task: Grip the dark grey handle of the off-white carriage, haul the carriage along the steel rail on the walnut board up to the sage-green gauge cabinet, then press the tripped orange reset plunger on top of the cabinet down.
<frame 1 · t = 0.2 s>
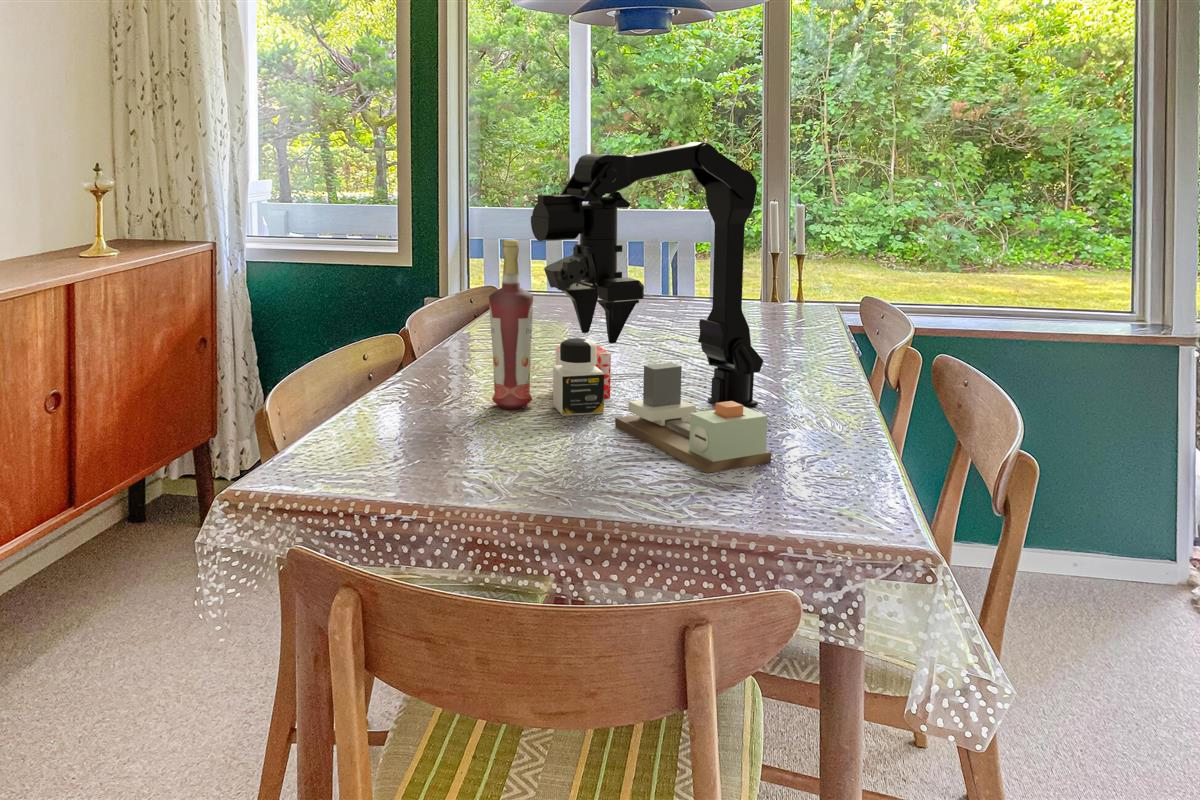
hand: (598, 337, 165), 14 cm above the table, fingers open, 9 cm apart
gauge cabinet: (726, 461, 150), resting on rail track
reset button: (728, 417, 148), point 6 cm above the table, slide at 0.0 cm
rail track: (688, 443, 158), on the table
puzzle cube: (582, 394, 188), on the table
liquor: (512, 407, 179), on the table
carriage: (662, 392, 164), point 6 cm above the table, slide at 0.0 cm
medicine bottle: (578, 411, 177), on the table
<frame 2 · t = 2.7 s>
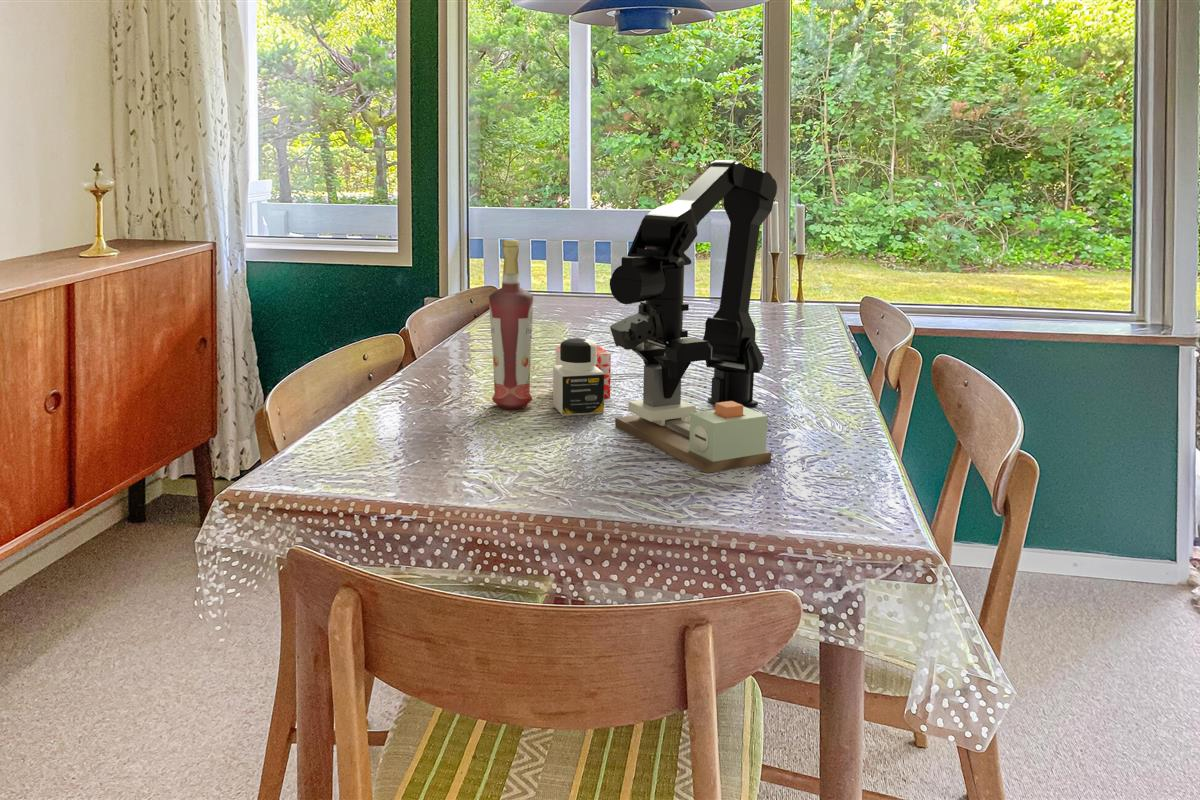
hand: (662, 395, 164), 6 cm above the table, fingers closed on carriage, 3 cm apart
carriage: (662, 392, 164), point 6 cm above the table, slide at 0.0 cm, touching gripper
everything else where it was.
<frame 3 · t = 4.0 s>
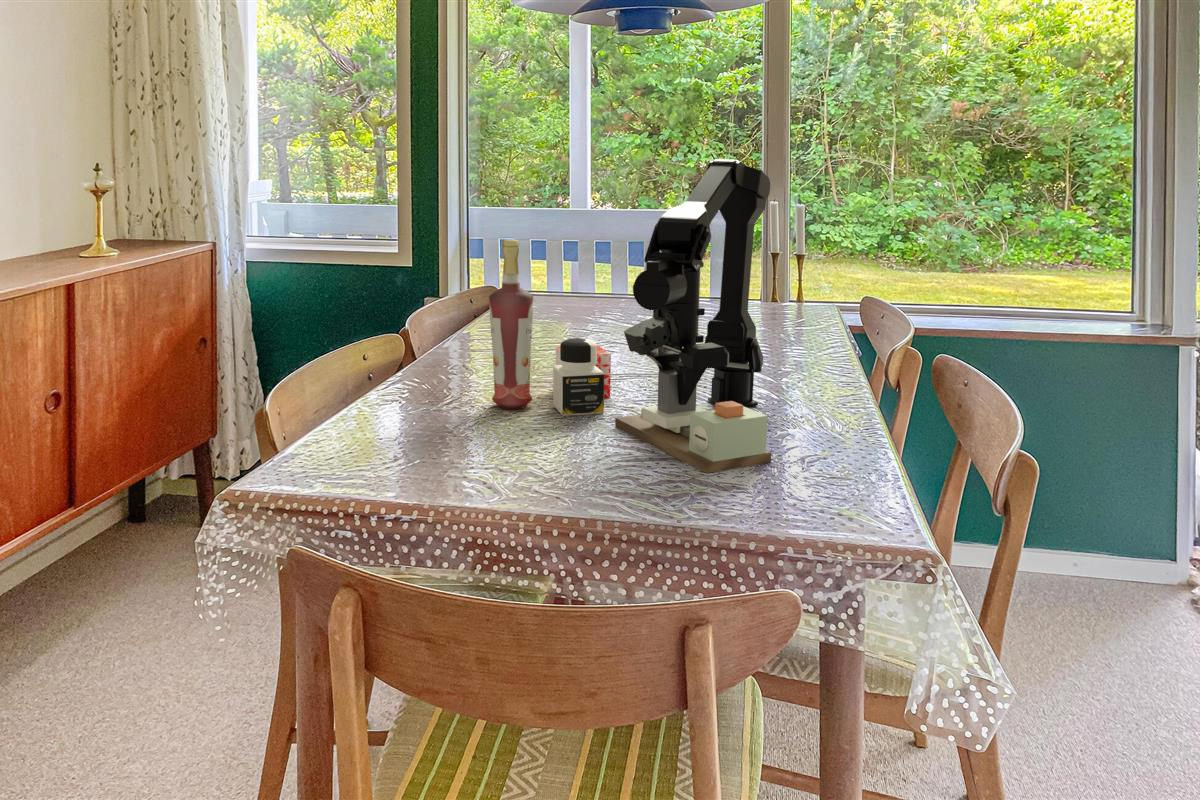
hand: (676, 402, 160), 6 cm above the table, fingers closed on carriage, 3 cm apart
carriage: (676, 398, 160), point 6 cm above the table, slide at 4.3 cm, touching gripper
everything else where it was.
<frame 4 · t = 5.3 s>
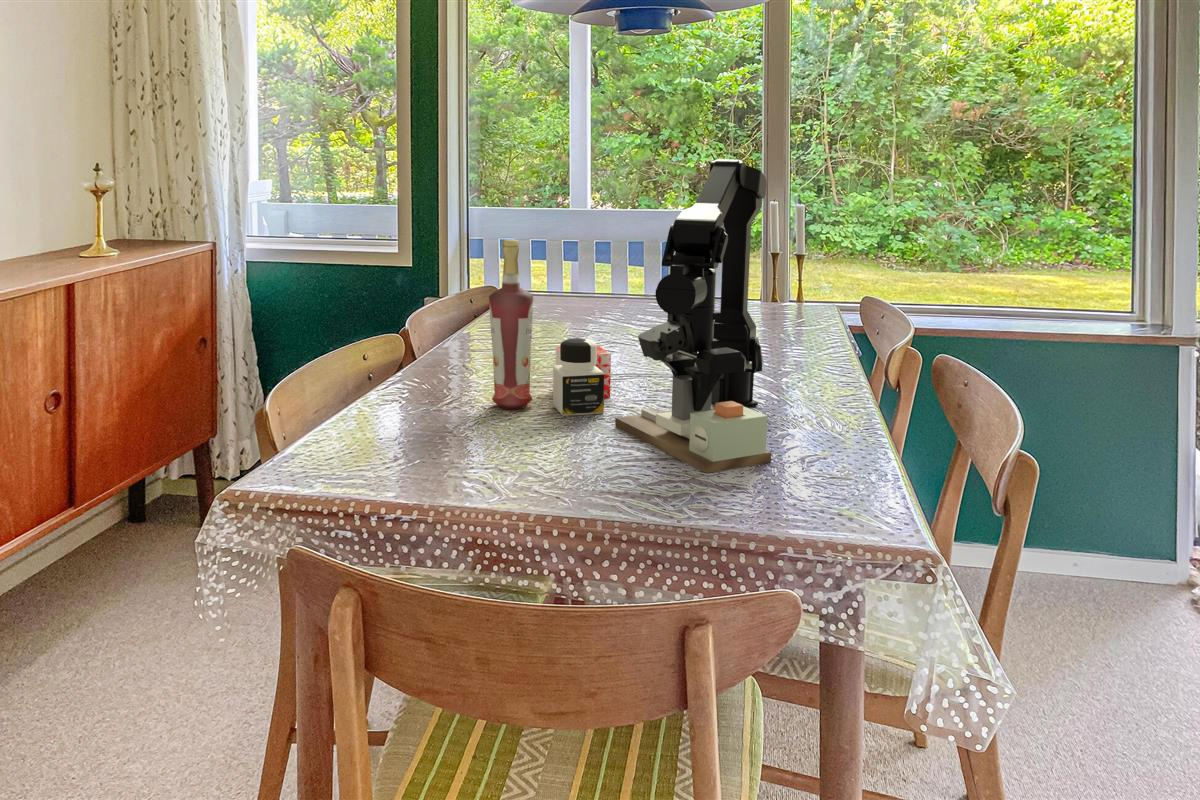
hand: (691, 408, 157), 6 cm above the table, fingers closed on carriage, 3 cm apart
carriage: (691, 404, 156), point 6 cm above the table, slide at 8.4 cm, touching gripper
everything else where it was.
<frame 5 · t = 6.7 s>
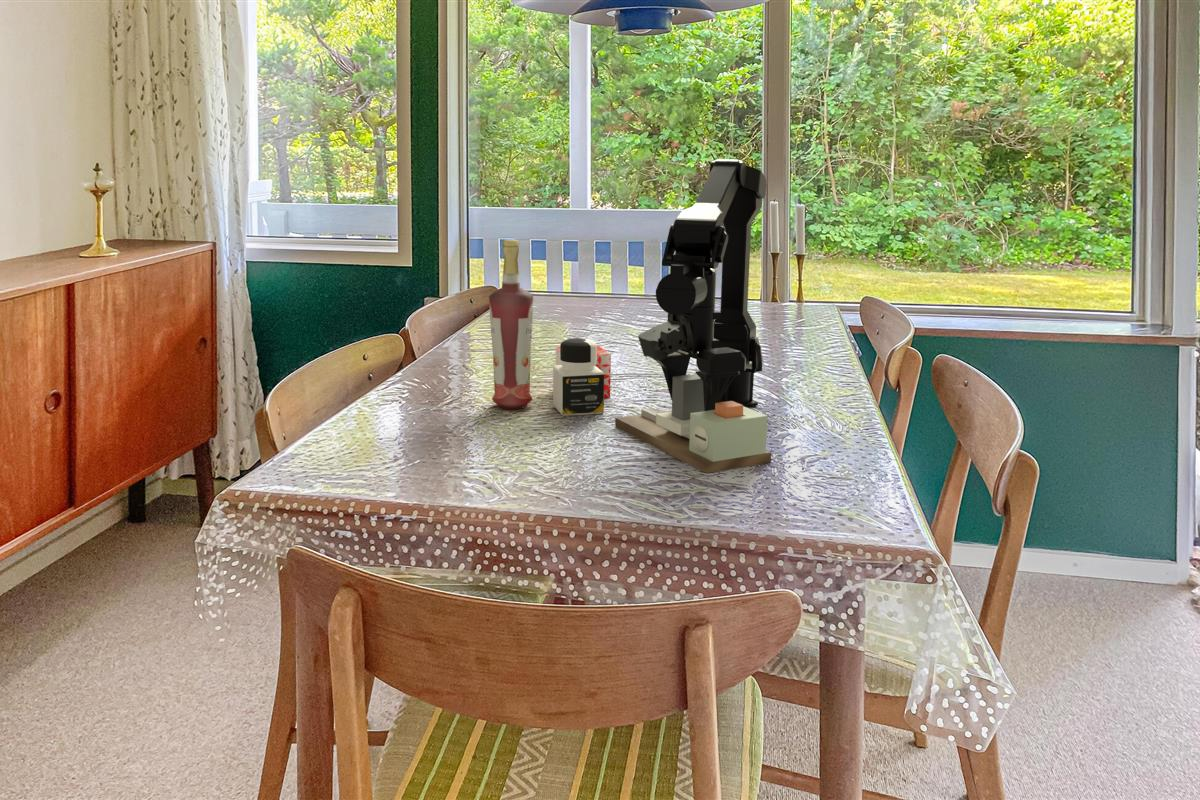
hand: (691, 408, 156), 6 cm above the table, fingers open, 9 cm apart
carriage: (691, 404, 156), point 6 cm above the table, slide at 8.4 cm
everything else where it was.
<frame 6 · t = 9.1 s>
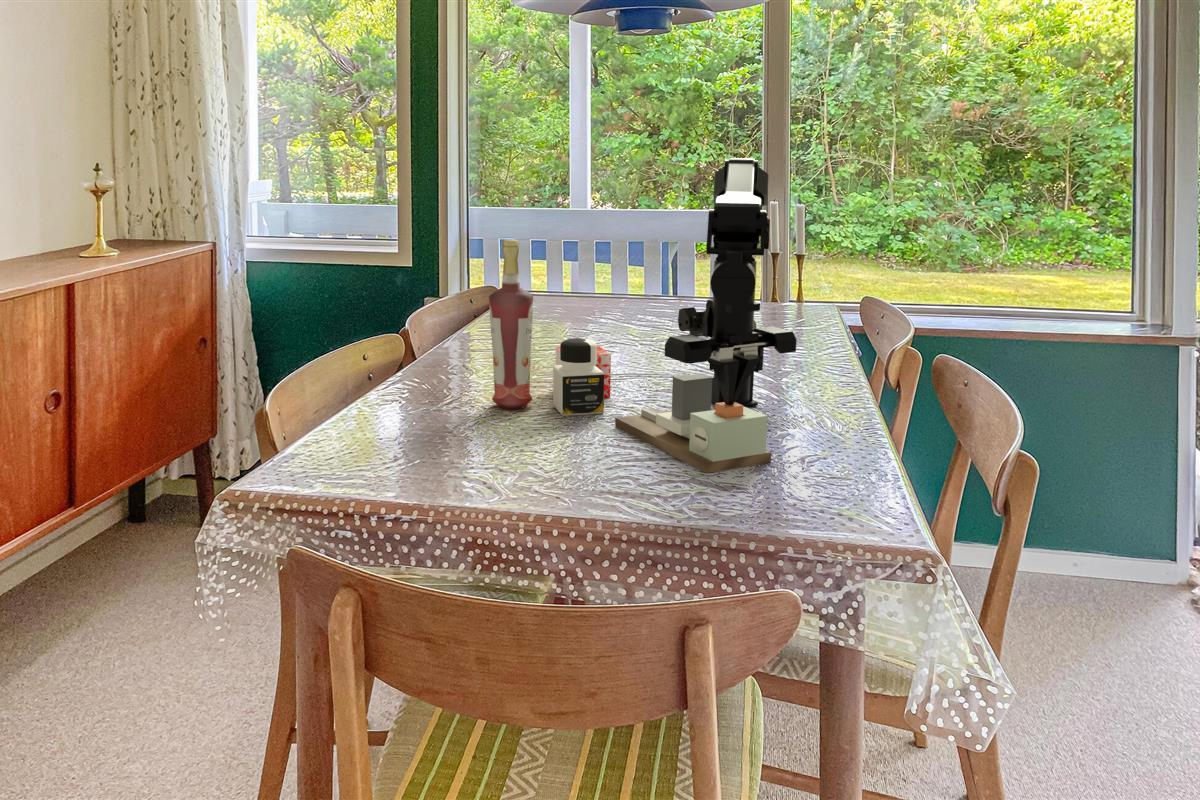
hand: (729, 404, 148), 8 cm above the table, fingers closed, pressing on reset button
reset button: (728, 418, 148), point 6 cm above the table, slide at 0.0 cm, touching gripper
everything else where it was.
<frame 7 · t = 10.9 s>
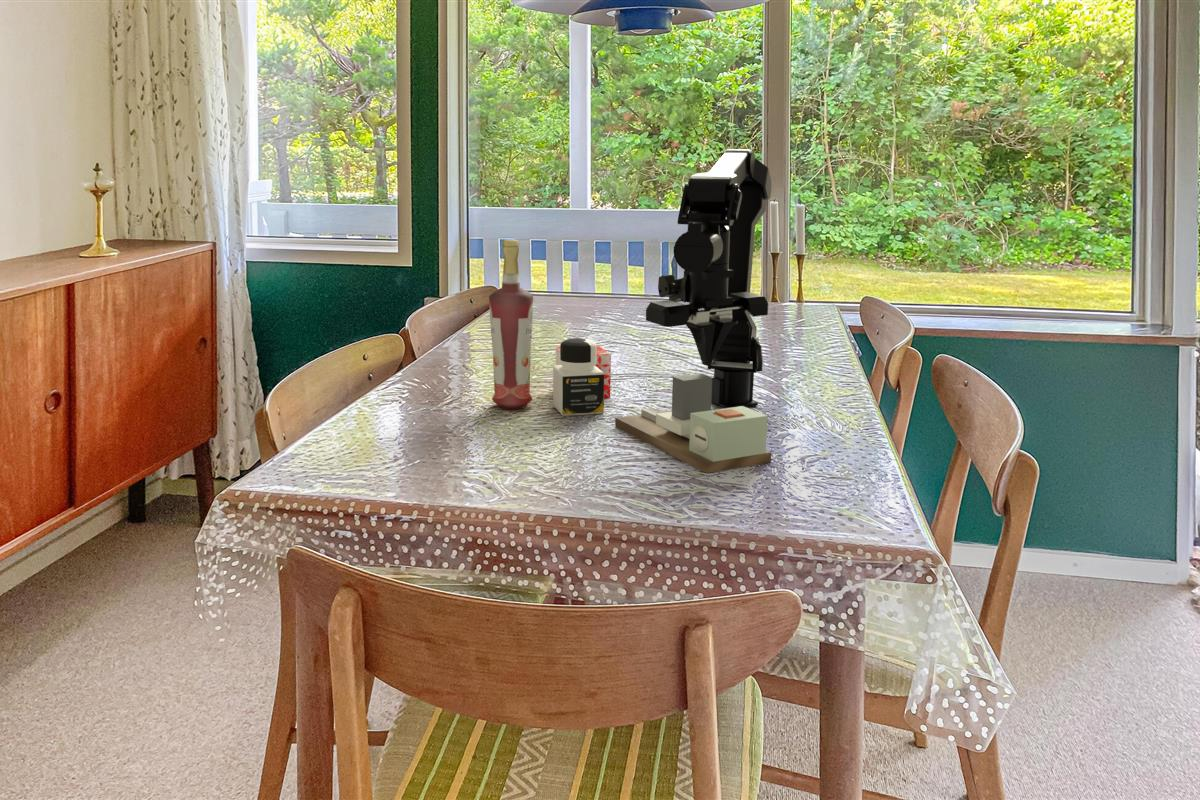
hand: (706, 364, 159), 11 cm above the table, fingers closed
reset button: (728, 426, 148), point 5 cm above the table, slide at 1.2 cm
everything else where it was.
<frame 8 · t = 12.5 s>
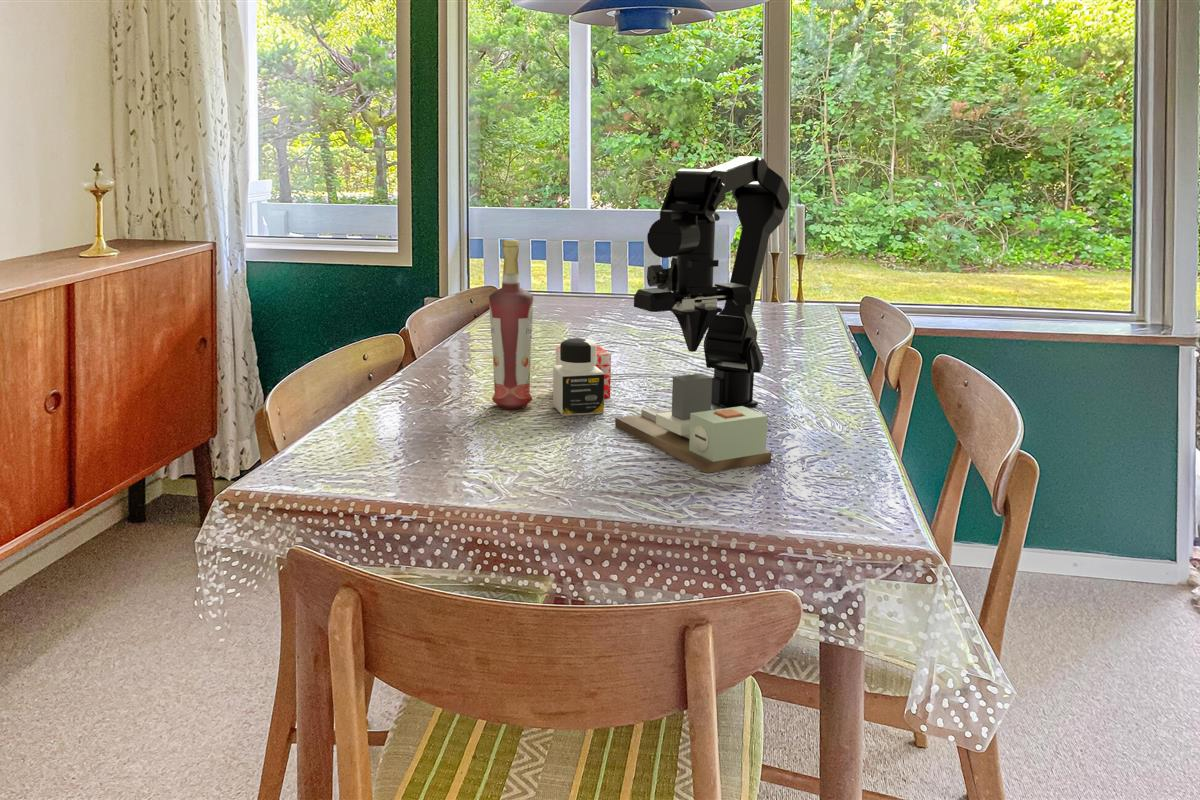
hand: (692, 351, 166), 12 cm above the table, fingers closed
nothing on the table moved.
at the end: carriage slide at 8.4 cm; reset button slide at 1.2 cm; the gripper is holding nothing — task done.
